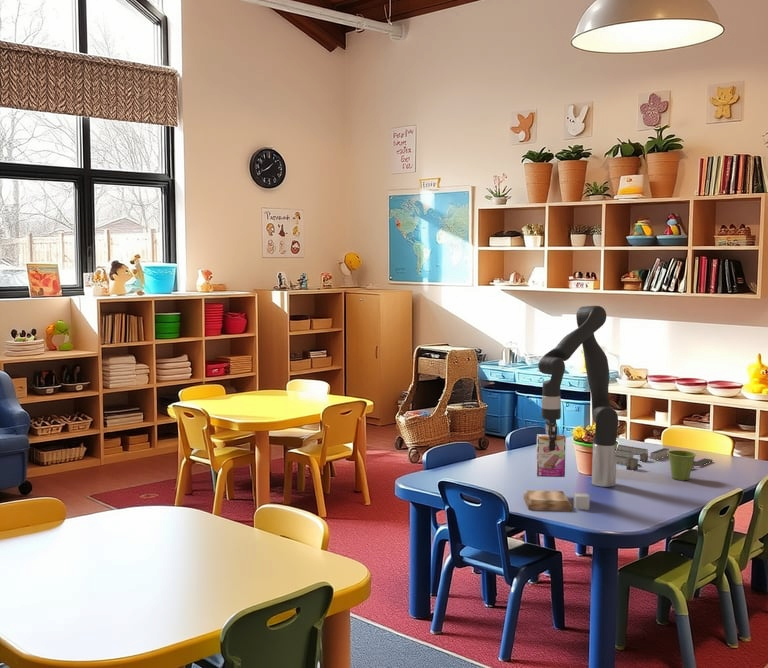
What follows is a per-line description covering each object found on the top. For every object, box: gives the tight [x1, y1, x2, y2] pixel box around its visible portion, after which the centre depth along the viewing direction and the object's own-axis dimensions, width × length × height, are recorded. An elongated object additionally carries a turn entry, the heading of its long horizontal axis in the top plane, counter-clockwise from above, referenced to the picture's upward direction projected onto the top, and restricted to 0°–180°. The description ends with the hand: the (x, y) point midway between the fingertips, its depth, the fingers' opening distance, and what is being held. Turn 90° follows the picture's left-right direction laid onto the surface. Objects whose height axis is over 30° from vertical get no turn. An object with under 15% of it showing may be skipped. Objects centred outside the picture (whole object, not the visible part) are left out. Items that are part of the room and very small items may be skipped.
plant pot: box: [667, 449, 697, 481], centre depth 382 cm, size 12×12×11 cm
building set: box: [615, 444, 714, 471], centre depth 414 cm, size 45×43×5 cm
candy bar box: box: [535, 433, 567, 478], centre depth 354 cm, size 11×5×16 cm, turn 85°
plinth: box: [523, 489, 573, 512], centre depth 339 cm, size 16×16×4 cm
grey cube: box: [573, 492, 591, 510], centre depth 336 cm, size 5×5×5 cm
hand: (550, 448), depth 353 cm, fingers closed on candy bar box, 5 cm apart
